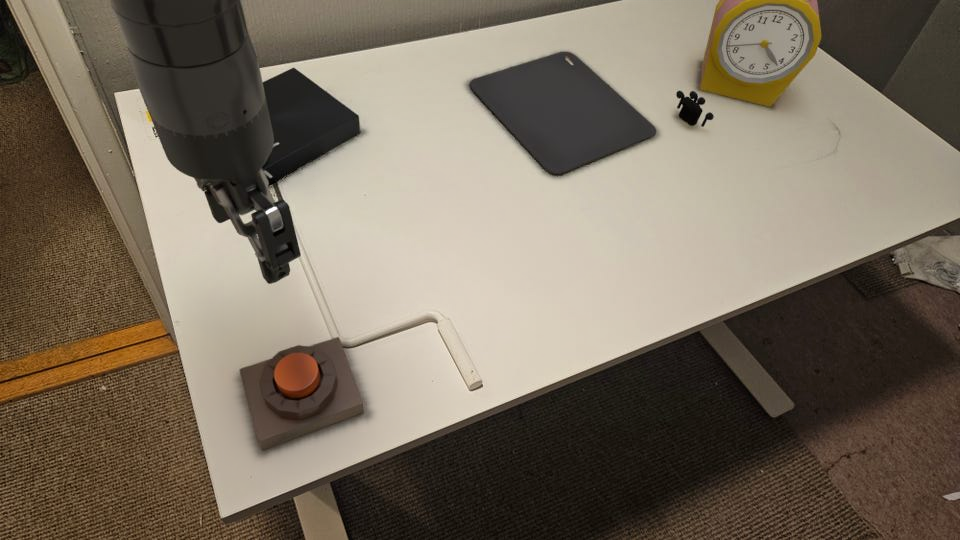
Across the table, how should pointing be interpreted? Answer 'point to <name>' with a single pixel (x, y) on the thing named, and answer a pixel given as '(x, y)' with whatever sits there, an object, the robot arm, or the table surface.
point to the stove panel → (303, 122)
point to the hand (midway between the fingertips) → (251, 245)
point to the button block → (300, 416)
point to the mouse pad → (562, 111)
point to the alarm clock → (759, 47)
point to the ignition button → (297, 375)
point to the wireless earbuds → (692, 108)
